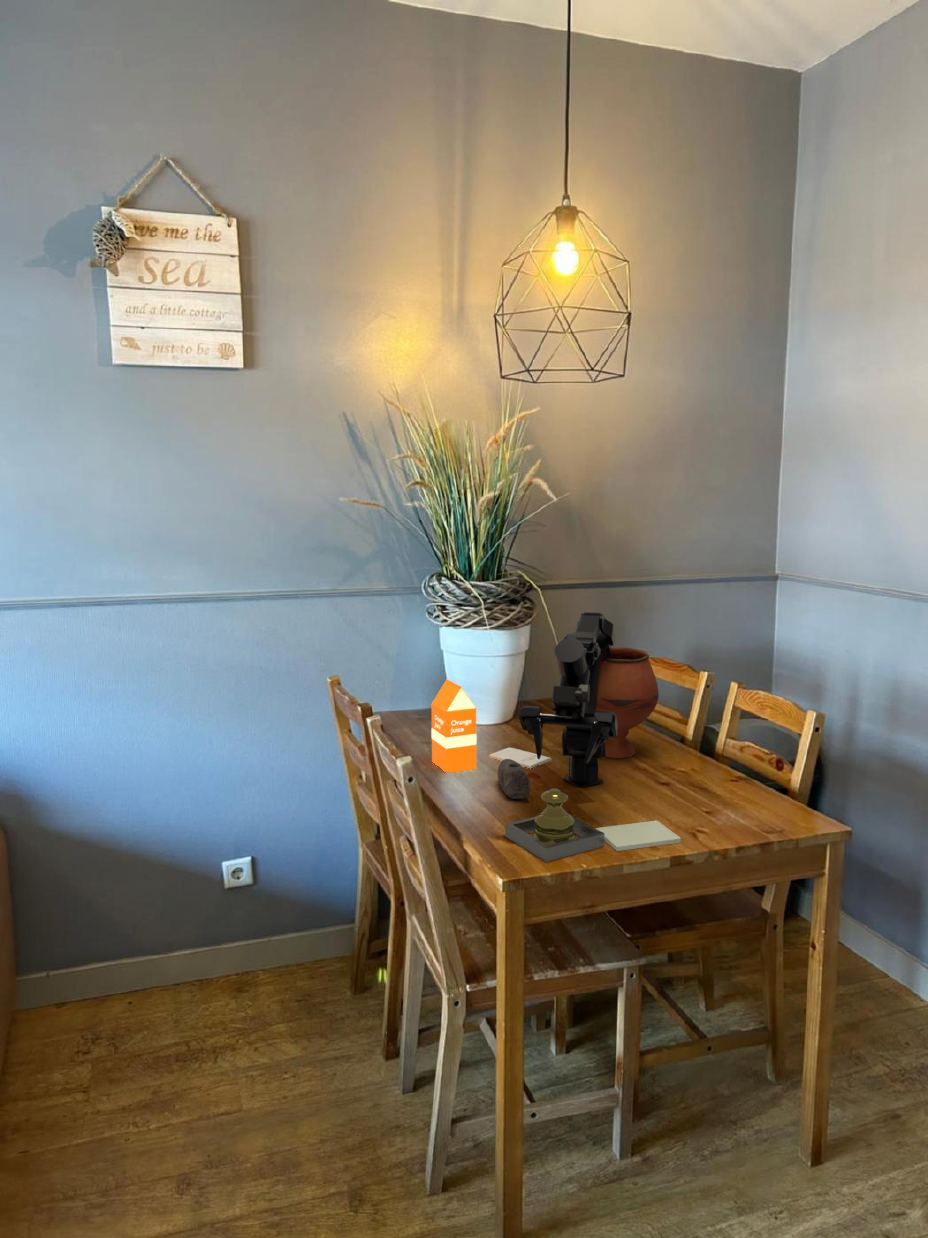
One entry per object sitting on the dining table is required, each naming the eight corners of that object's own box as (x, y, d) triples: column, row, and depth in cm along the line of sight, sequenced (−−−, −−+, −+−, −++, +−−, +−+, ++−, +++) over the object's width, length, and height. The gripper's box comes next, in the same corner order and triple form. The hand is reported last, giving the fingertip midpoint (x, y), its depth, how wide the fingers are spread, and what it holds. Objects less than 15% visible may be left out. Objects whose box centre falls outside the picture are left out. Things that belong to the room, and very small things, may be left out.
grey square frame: (505, 836, 165) (505, 824, 165) (560, 822, 172) (561, 810, 171) (546, 862, 154) (546, 848, 154) (604, 846, 161) (604, 833, 160)
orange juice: (445, 774, 200) (445, 688, 197) (431, 763, 208) (430, 680, 205) (477, 769, 203) (477, 684, 200) (461, 758, 211) (461, 677, 208)
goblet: (575, 763, 208) (576, 659, 204) (579, 739, 226) (580, 644, 222) (658, 767, 204) (661, 662, 200) (655, 743, 223) (658, 646, 219)
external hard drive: (510, 753, 218) (551, 763, 210) (489, 761, 212) (530, 771, 203) (510, 746, 217) (551, 756, 209) (489, 754, 211) (530, 765, 203)
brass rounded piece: (573, 834, 166) (574, 783, 165) (574, 851, 159) (575, 797, 157) (534, 833, 167) (534, 782, 165) (533, 849, 159) (534, 796, 158)
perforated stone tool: (492, 781, 196) (492, 750, 195) (515, 779, 197) (515, 749, 196) (506, 805, 181) (507, 772, 180) (531, 803, 182) (532, 771, 181)
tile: (616, 851, 158) (617, 847, 158) (595, 832, 167) (595, 828, 167) (681, 842, 162) (681, 838, 162) (656, 824, 171) (656, 820, 171)
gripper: (521, 665, 173) (507, 735, 164) (617, 671, 167) (608, 744, 159) (529, 695, 181) (516, 763, 173) (620, 701, 176) (612, 772, 167)
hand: (562, 760), depth 168 cm, fingers open, 9 cm apart
